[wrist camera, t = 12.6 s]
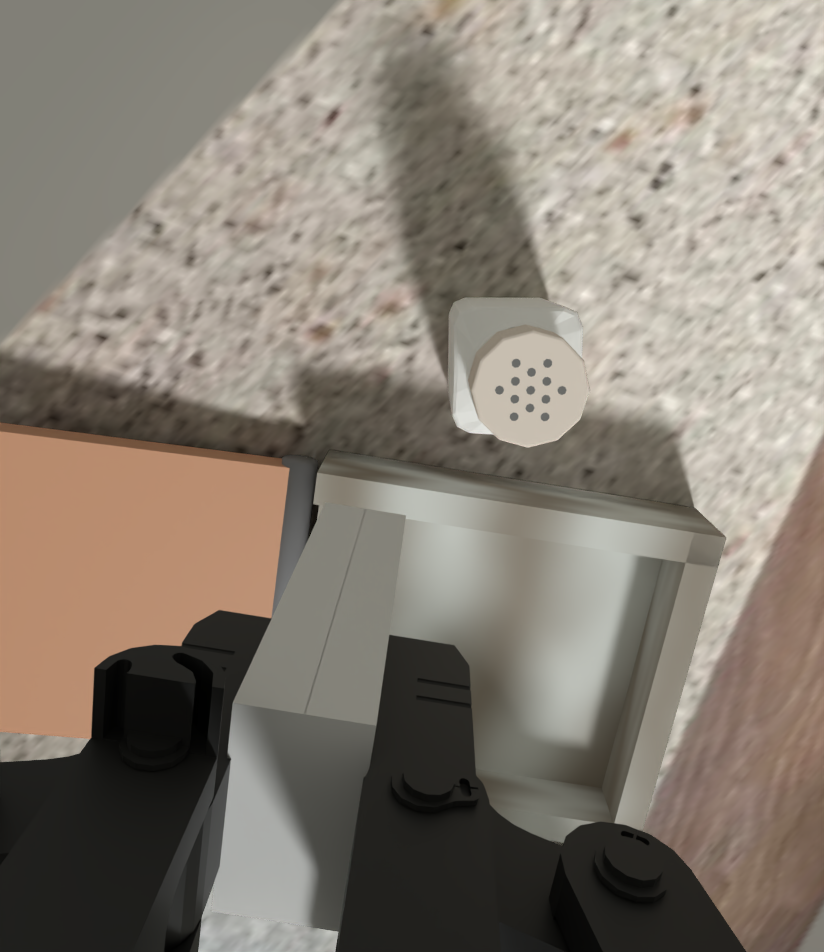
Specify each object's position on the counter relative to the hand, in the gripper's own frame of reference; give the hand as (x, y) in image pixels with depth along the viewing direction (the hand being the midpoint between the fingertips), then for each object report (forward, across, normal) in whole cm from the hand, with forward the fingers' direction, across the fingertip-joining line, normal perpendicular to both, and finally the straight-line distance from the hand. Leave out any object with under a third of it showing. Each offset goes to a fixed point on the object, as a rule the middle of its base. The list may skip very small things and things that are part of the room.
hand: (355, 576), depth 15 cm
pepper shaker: (+17, -3, -3) cm, 18 cm away
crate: (+17, -5, +9) cm, 20 cm away
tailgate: (+16, +4, +9) cm, 19 cm away
